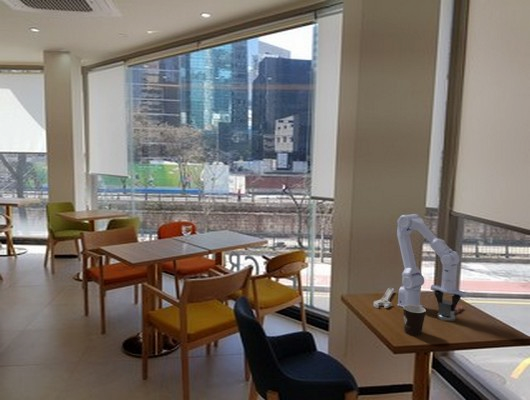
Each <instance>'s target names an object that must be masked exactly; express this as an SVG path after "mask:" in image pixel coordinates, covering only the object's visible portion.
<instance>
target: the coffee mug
mask: <svg viewBox="0 0 530 400" xmlns="http://www.w3.org/2000/svg"><path fill="white" fill-rule="evenodd" d="M402 309H403V326H404V328H403V329H404V333H405V334H407V335H409V336H412V337H413V336H414V337H418V336H421V335H422V332H423V328H424V322H425V316H426V312H427V310H426V308H424V307H420V306H416V305H405V306H403V307H402Z"/></svg>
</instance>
